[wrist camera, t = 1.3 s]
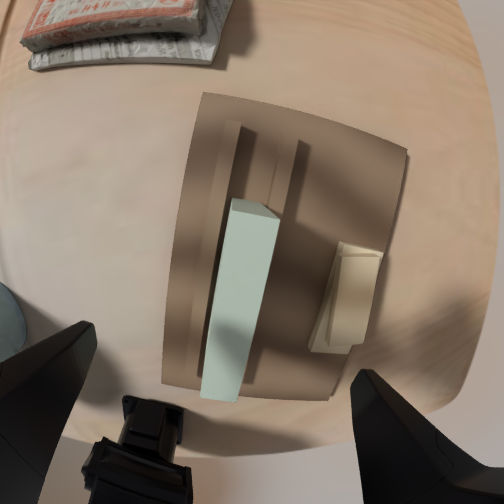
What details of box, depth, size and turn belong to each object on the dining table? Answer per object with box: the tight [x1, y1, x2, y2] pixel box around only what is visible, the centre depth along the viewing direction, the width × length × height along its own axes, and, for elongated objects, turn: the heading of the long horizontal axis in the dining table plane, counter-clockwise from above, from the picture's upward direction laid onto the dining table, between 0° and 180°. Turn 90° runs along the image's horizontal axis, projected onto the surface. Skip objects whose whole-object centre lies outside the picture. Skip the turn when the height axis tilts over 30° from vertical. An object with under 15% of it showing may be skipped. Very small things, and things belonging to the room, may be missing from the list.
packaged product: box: [20, 0, 233, 71], centre depth 13 cm, size 18×5×10 cm
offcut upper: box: [325, 253, 380, 347], centre depth 20 cm, size 7×3×1 cm, turn 178°
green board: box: [200, 197, 280, 402], centre depth 16 cm, size 10×2×8 cm, turn 168°
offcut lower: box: [308, 241, 384, 354], centre depth 21 cm, size 9×4×1 cm, turn 168°
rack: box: [162, 92, 407, 401], centre depth 21 cm, size 24×16×2 cm, turn 168°
